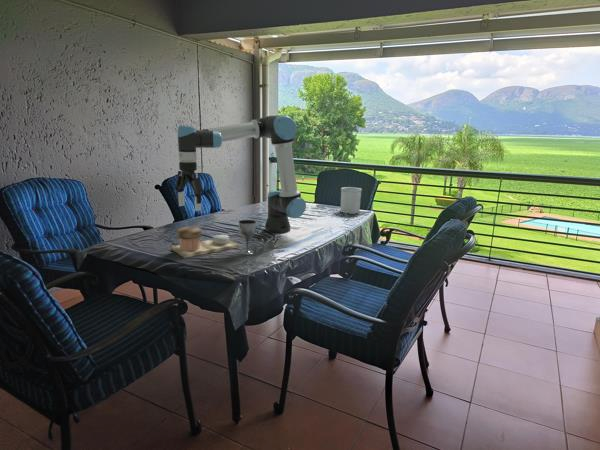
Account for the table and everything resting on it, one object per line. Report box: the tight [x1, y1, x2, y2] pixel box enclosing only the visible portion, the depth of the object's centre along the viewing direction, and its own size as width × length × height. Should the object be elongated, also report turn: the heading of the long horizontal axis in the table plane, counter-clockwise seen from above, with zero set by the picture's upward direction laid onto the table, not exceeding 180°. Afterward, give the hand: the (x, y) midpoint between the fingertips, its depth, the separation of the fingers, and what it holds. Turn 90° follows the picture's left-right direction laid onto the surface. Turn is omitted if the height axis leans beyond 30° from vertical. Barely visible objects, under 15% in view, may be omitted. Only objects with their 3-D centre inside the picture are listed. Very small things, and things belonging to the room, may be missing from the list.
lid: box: [176, 226, 202, 239], centre depth 177 cm, size 11×11×3 cm
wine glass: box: [238, 219, 257, 256], centre depth 178 cm, size 8×8×15 cm
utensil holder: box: [340, 186, 363, 215], centre depth 276 cm, size 15×15×18 cm
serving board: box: [171, 238, 240, 259], centre depth 184 cm, size 28×15×2 cm, turn 130°
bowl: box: [178, 237, 200, 251], centre depth 178 cm, size 9×9×6 cm
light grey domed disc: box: [212, 234, 230, 245], centre depth 188 cm, size 8×8×3 cm
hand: (189, 208), depth 174 cm, fingers open, 13 cm apart
